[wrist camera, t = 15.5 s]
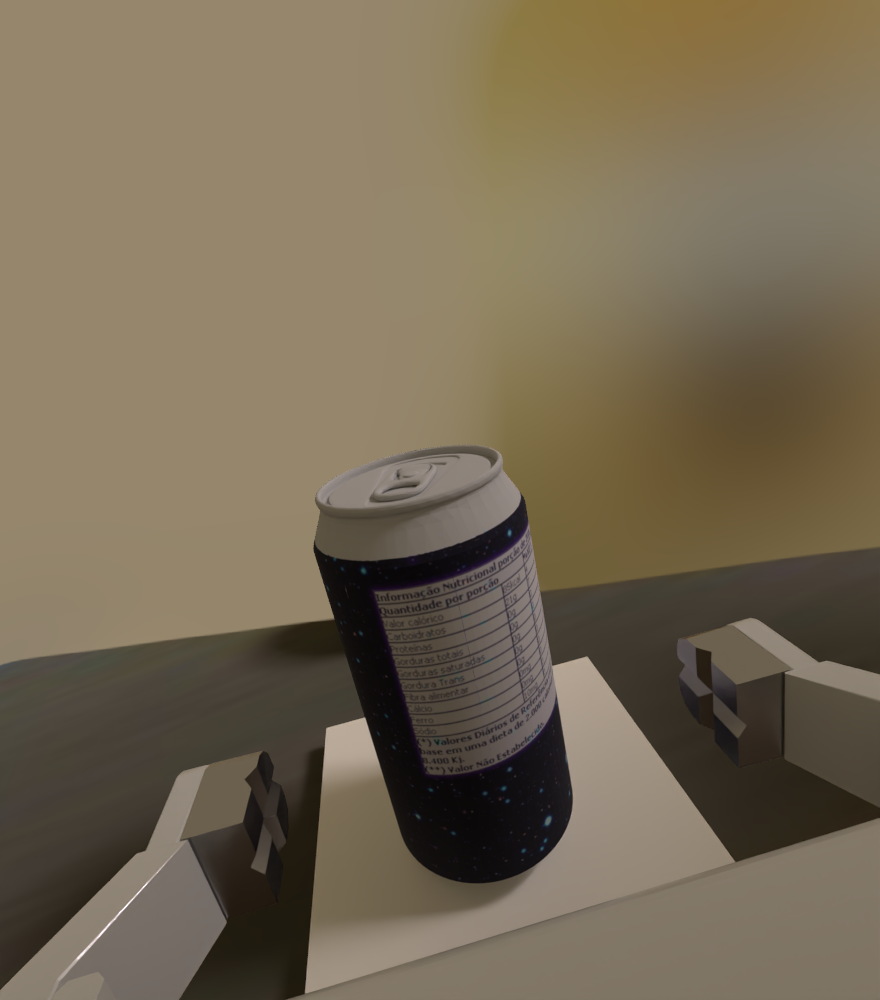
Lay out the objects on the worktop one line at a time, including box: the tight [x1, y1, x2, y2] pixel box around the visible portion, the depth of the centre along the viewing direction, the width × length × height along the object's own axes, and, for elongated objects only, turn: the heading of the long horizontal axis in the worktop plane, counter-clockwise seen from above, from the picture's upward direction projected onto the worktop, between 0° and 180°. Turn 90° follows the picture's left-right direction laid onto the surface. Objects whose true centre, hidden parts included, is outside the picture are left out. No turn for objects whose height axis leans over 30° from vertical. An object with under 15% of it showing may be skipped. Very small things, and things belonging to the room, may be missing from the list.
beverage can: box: [314, 445, 573, 884], centre depth 16 cm, size 6×6×12 cm
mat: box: [305, 657, 735, 994], centre depth 18 cm, size 12×12×1 cm
